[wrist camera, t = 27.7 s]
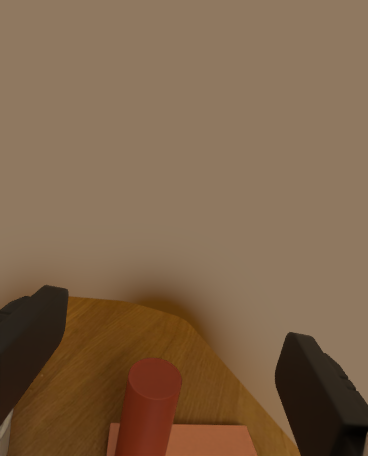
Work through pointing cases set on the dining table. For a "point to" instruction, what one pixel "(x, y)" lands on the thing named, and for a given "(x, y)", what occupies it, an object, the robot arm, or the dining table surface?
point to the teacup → (5, 434)
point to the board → (199, 440)
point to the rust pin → (148, 408)
